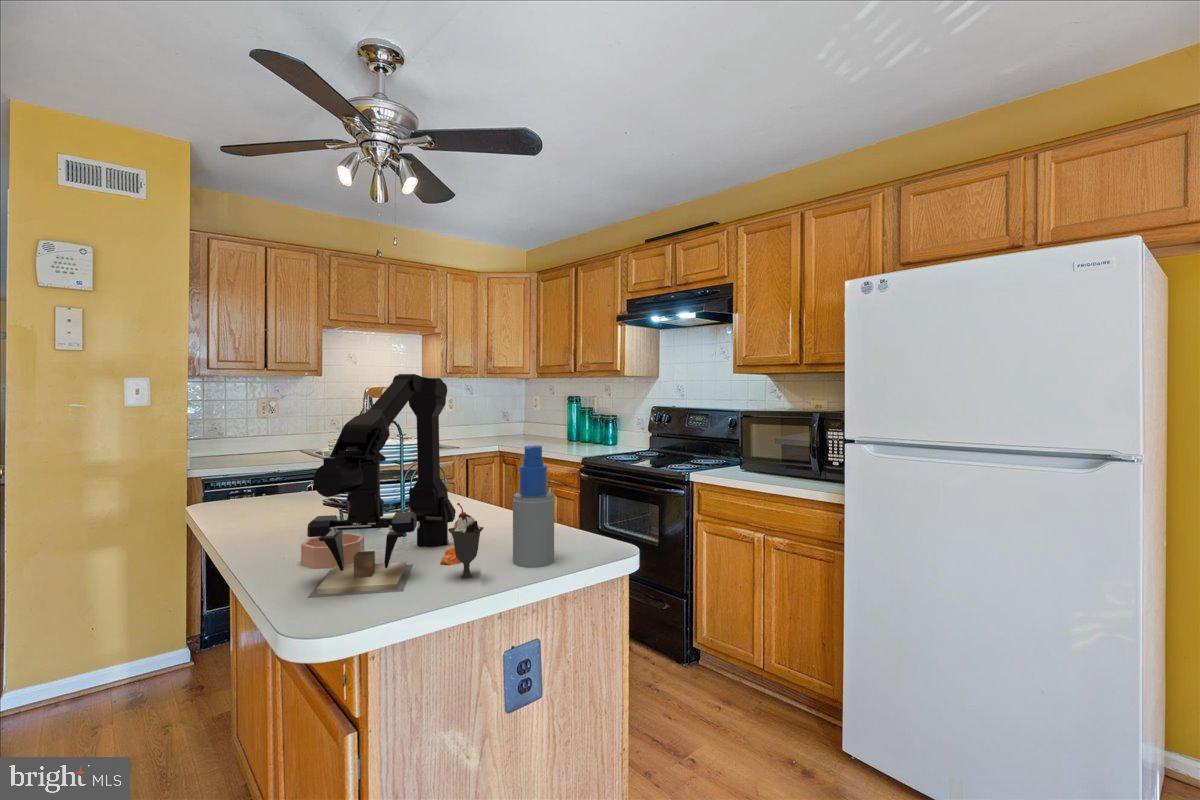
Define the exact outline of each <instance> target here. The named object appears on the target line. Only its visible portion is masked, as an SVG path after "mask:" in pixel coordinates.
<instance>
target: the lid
mask: <svg viewBox="0 0 1200 800" xmlns="http://www.w3.org/2000/svg"><path fill="white" fill-rule="evenodd" d="M375 561H376V551H375V550H369V551H365V550H364V552H357V553H356V554H355V556H354V563H353V564H349V565H345V566H344V570H343V571H340V568H339V566H335V567H334V568H331V569H332V571H331V572H330V573H329V574H328V575H327V577H326V578H325V579H324V580H323V582H322V583H321V584H320V585H319V586H318V588H317V589H316V595H321V594H335V593H350V592H365V591H379V590H394V589H397V588H398V586H399V583H400V581H401V578H402V576H403V574H404V571H405V569H406V565H407V561H400V562H399V561H397V562H396V561H395V562H389V565H388V567H387V568H385V562H382V563H381V562H379V563H376V562H375Z"/></svg>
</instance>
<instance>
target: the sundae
mask: <svg viewBox="0 0 1200 800" xmlns="http://www.w3.org/2000/svg"><path fill="white" fill-rule="evenodd" d="M457 506H459V508H460V509H461V512H460V514H458V519H457V520H456V521H455V523H454V525H453V527H450V528H449V527H448V533H450V534H451V536H452V539H453V540H452V541H453V546H454V547H453V548H455V553H456V557H457V558H458V560H459V561H461V563H462V565H463V571H462V575H461V576H460V578H461V579H472V578H473V577H474V576H473V574H472V573H471V570H470V567H471V566H470V564H471V563H472V562H473V561H474V560H475V559H476V557H477V555H478V551H479V543H480V537H481V533H482V531H483V530H484V528H485V527H484V526H480V525H479V524H478V520H475V518H474V517H473V516H472V515H470V514H467V513H466V512H464V509H463V506H462V505H461V503H460V502H457Z"/></svg>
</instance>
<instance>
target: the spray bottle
mask: <svg viewBox="0 0 1200 800" xmlns="http://www.w3.org/2000/svg"><path fill="white" fill-rule="evenodd" d="M512 563H513V564H514V565H515V566H517V567H520V568H521V567H522V568H542V567H543V568H544V567H547V566H549V565H553V563H555V498H554V493H553V492H550V491H548V465H546V464H544V457H543V446H542V445H540V444H539V445H538V444H537V445H536V444H535V445H525V446H524V457H523V458H522V465H519V492H516V493H514V494H513V499H512Z"/></svg>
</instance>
